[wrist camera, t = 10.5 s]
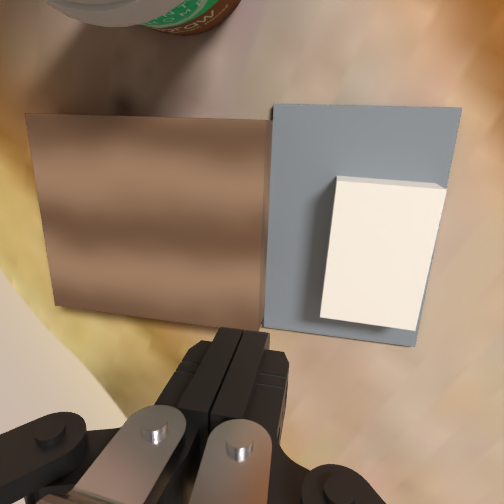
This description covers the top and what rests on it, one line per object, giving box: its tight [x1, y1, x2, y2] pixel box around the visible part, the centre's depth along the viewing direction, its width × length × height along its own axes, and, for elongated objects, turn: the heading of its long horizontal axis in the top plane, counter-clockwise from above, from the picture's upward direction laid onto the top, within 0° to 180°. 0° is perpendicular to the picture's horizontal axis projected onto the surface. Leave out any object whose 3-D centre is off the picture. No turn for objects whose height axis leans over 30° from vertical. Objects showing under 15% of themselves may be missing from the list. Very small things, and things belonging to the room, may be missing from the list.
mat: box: [264, 104, 462, 347], centre depth 25 cm, size 16×11×1 cm
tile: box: [320, 176, 447, 331], centre depth 24 cm, size 9×6×2 cm, turn 177°
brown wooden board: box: [25, 113, 273, 331], centre depth 27 cm, size 14×16×3 cm
